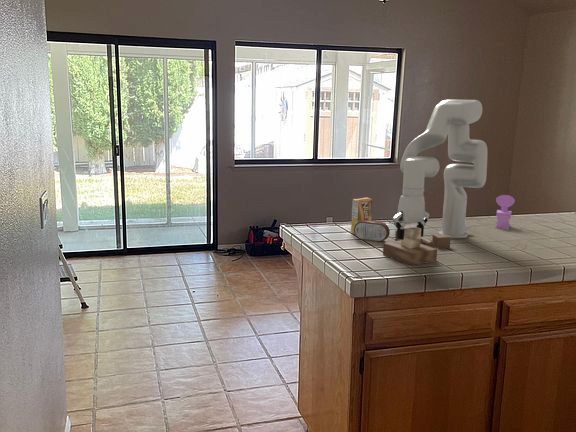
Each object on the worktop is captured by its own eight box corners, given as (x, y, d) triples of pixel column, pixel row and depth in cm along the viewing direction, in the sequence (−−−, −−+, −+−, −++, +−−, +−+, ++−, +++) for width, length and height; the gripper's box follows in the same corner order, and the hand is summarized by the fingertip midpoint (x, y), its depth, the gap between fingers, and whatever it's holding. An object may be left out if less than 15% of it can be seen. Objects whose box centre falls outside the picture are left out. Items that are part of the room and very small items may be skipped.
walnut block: (406, 251, 214) (407, 239, 213) (436, 262, 200) (437, 249, 199) (382, 255, 208) (383, 242, 207) (412, 266, 194) (413, 253, 193)
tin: (389, 241, 227) (390, 222, 225) (387, 243, 224) (388, 223, 222) (354, 237, 233) (355, 218, 231) (352, 239, 230) (353, 219, 228)
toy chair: (492, 227, 255) (496, 196, 252) (493, 224, 263) (496, 193, 260) (511, 229, 252) (515, 198, 249) (512, 225, 260) (515, 195, 257)
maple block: (410, 243, 206) (411, 225, 205) (420, 246, 202) (421, 228, 200) (400, 245, 204) (401, 227, 202) (410, 248, 199) (411, 230, 198)
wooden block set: (413, 237, 213) (394, 227, 231) (412, 251, 215) (394, 240, 232) (452, 235, 217) (431, 225, 234) (451, 249, 218) (430, 238, 235)
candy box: (364, 230, 246) (365, 197, 243) (371, 232, 243) (372, 198, 240) (350, 233, 240) (351, 199, 237) (357, 234, 237) (359, 200, 234)
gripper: (422, 189, 206) (419, 232, 209) (388, 192, 197) (385, 237, 201) (437, 192, 200) (434, 237, 203) (402, 195, 191) (399, 242, 194)
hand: (410, 237), depth 202 cm, fingers open, 9 cm apart
